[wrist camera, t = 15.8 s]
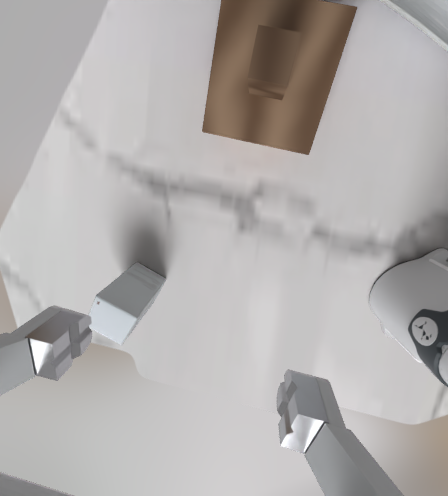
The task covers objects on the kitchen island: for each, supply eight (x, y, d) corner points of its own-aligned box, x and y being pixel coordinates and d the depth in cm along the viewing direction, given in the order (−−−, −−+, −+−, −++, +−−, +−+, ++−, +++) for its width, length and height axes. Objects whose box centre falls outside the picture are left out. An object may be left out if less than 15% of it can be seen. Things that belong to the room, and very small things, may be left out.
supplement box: (125, 285, 47) (81, 325, 35) (137, 260, 44) (94, 294, 32) (154, 302, 47) (121, 347, 36) (168, 279, 45) (137, 318, 33)
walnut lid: (354, 12, 22) (385, -37, 17) (307, 154, 28) (319, 152, 22) (224, -11, 23) (215, -65, 18) (203, 132, 28) (191, 124, 23)
